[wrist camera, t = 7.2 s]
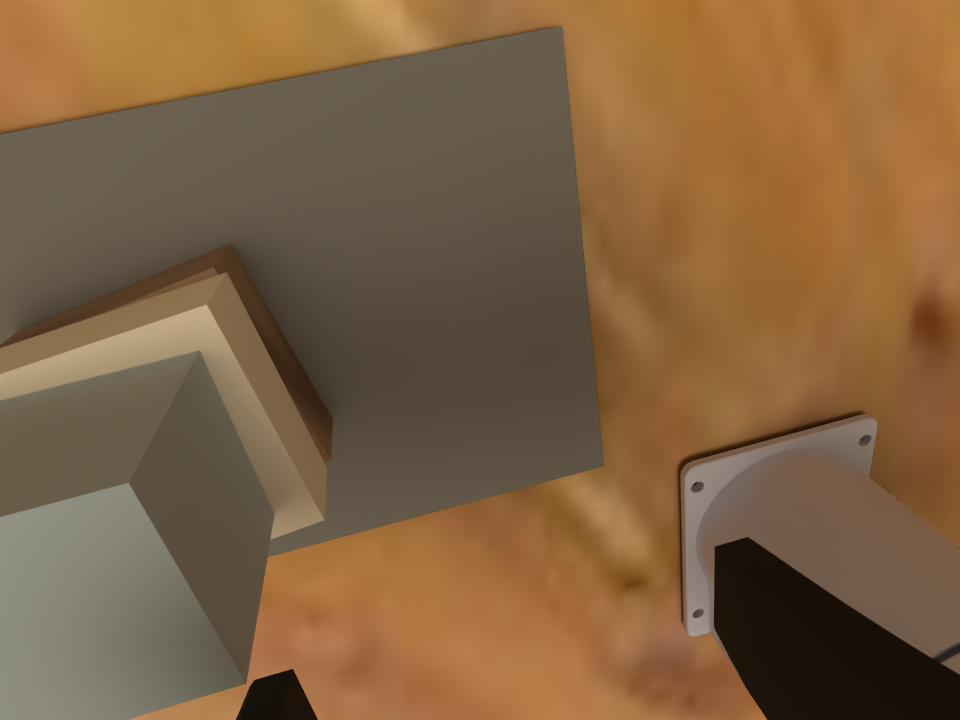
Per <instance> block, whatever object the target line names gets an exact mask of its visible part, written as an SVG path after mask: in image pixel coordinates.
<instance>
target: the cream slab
mask: <svg viewBox="0 0 960 720" xmlns="http://www.w3.org/2000/svg"><path fill="white" fill-rule="evenodd" d="M196 351H200V352H201V354H202V357H203V359H204V361H205V363H206V365H207V368H208V370H209V372H210V374H211V376H212V379H213V381H214V383H215V385H216V387H217V389H218V392H219V394H220V396H221V398H222V400H223V403H224V405H225V407H226V409H227V411H228V414H229V416H230V418H231V420H232V422H233V425H234V427H235V429H236V431H237V433H238V435H239V438H240V440H241V442H242V444H243V446H244V449H245V451H246V453H247V455H248V457H249V460H250V462H251V464H252V466H253V468H254V471H255V473H256V475H257V477H258V479H259V481H260V484H261V486H262V488H263V490H264V492H265V495H266V497H267V499H268V501H269V503H270V506H271V508H272V510H273V512H274V514H275V515H274V521H273V527H272V533H271V539H274V538H276V537H279V536H282V535H285V534H288V533H290V532H293V531H296V530H299V529H302V528H304V527H307V526H310V525H313V524H315V523H318V522H321V521H324V519H325V501H326V483H327V467H326V465H325V463H324V461H323V459H322V457H321V455H320V453H319V451H318V449H317V447H316V445H315V443H314V441H313V439H312V437H311V435H310V434H309V432H308V430H307V428H306V426H305V424H304V422H303V420H302V418H301V416H300V414H299V412H298V410H297V408H296V406H295V404H294V402H293V400H292V398H291V397H290V395H289V393H288V391H287V389H286V387H285V385H284V383H283V381H282V379H281V377H280V375H279V373H278V371H277V369H276V367H275V365H274V363H273V361H272V360H271V358H270V356H269V354H268V352H267V350H266V348H265V346H264V344H263V342H262V340H261V338H260V336H259V334H258V332H257V330H256V328H255V326H254V324H253V323H252V321H251V319H250V317H249V315H248V313H247V311H246V309H245V307H244V305H243V303H242V301H241V299H240V297H239V295H238V293H237V291H236V289H235V287H234V286H233V284H232V282H231V280H230V278H229V276H228V274H227V272H226V273H223V274H220V275H217V276H214V277H211V278H208V279H205V280H202V281H199V282H196V283H193V284H190V285H187V286H184V287H181V288H178V289H175V290H172V291H169V292H166V293H163V294H160V295H157V296H154V297H151V298H148V299H145V300H142V301H139V302H136V303H133V304H130V305H127V306H124V307H121V308H118V309H116V310H113V311H110V312H107V313H104V314H101V315H98V316H95V317H92V318H89V319H86V320H83V321H80V322H77V323H74V324H71V325H68V326H65V327H62V328H59V329H56V330H53V331H50V332H47V333H44V334H41V335H38V336H35V337H32V338H29V339H26V340H23V341H20V342H17V343H14V344H11V345H8V346H5V347H2V348H0V401H1V400H5V399H9V398H13V397H17V396H21V395H25V394H29V393H33V392H37V391H41V390H44V389H48V388H52V387H56V386H60V385H64V384H68V383H72V382H76V381H80V380H84V379H88V378H92V377H96V376H100V375H104V374H108V373H112V372H116V371H120V370H124V369H128V368H132V367H136V366H140V365H144V364H148V363H152V362H156V361H160V360H164V359H168V358H172V357H176V356H180V355H184V354H188V353H192V352H196ZM271 539H270V540H271Z"/></svg>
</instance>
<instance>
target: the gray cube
mask: <svg viewBox="0 0 960 720" xmlns="http://www.w3.org/2000/svg"><path fill="white" fill-rule="evenodd" d="M274 515H275V514H274V512H273V510H272V508H271V506H270V503H269V501H268V499H267V497H266V495H265V492H264V490H263V488H262V486H261V484H260V481H259V479H258V477H257V475H256V473H255V471H254V468H253V466H252V464H251V462H250V460H249V457H248V455H247V453H246V451H245V449H244V446H243V444H242V442H241V440H240V438H239V435H238V433H237V431H236V429H235V427H234V425H233V422H232V420H231V418H230V416H229V414H228V411H227V409H226V407H225V405H224V403H223V400H222V398H221V396H220V394H219V392H218V389H217V387H216V385H215V383H214V381H213V379H212V376H211V374H210V372H209V370H208V368H207V365H206V363H205V361H204V359H203V357H202V354H201V352H200V351H196V352H192V353H188V354H184V355H180V356H176V357H172V358H168V359H164V360H160V361H156V362H152V363H148V364H144V365H140V366H136V367H132V368H128V369H124V370H120V371H116V372H112V373H108V374H104V375H100V376H96V377H92V378H88V379H84V380H80V381H76V382H72V383H68V384H64V385H60V386H56V387H52V388H48V389H44V390H41V391H37V392H33V393H29V394H25V395H21V396H17V397H13V398H9V399H5V400H1V401H0V720H127V719H130V718H134V717H137V716H140V715H143V714H147V713H150V712H153V711H157V710H160V709H163V708H167V707H170V706H173V705H177V704H180V703H183V702H186V701H190V700H193V699H196V698H200V697H203V696H206V695H210V694H213V693H216V692H219V691H223V690H226V689H229V688H233V687H236V686H239V685H243V684H246V682H247V676H248V670H249V664H250V658H251V652H252V646H253V640H254V634H255V628H256V622H257V616H258V610H259V604H260V599H261V593H262V587H263V581H264V575H265V569H266V563H267V557H268V551H269V545H270V539H271V533H272V527H273V521H274Z"/></svg>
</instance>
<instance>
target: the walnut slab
mask: <svg viewBox="0 0 960 720" xmlns="http://www.w3.org/2000/svg"><path fill="white" fill-rule="evenodd" d="M226 272H227V274H228V276H229V278H230V280H231V282H232V284H233V286H234V287H235V289H236V291H237V293H238V295H239V297H240V299H241V301H242V303H243V305H244V307H245V309H246V311H247V313H248V315H249V317H250V319H251V321H252V323H253V324H254V326H255V328H256V330H257V332H258V334H259V336H260V338H261V340H262V342H263V344H264V346H265V348H266V350H267V352H268V354H269V356H270V358H271V360H272V361H273V363H274V365H275V367H276V369H277V371H278V373H279V375H280V377H281V379H282V381H283V383H284V385H285V387H286V389H287V391H288V393H289V395H290V397H291V398H292V400H293V402H294V404H295V406H296V408H297V410H298V412H299V414H300V416H301V418H302V420H303V422H304V424H305V426H306V428H307V430H308V432H309V434H310V435H311V437H312V439H313V441H314V443H315V445H316V447H317V449H318V451H319V453H320V455H321V457H322V459H323V461H324V463H325V462H327V461H330V460H331V451H332V429H333V419H332V417H331V415H330V413H329V412H328V410H327V408H326V407H325V405H324V403H323V402H322V400H321V398H320V396H319V395H318V393H317V391H316V390H315V388H314V386H313V384H312V383H311V381H310V379H309V378H308V376H307V374H306V372H305V371H304V369H303V367H302V366H301V364H300V362H299V360H298V359H297V357H296V355H295V354H294V352H293V350H292V348H291V347H290V345H289V343H288V342H287V340H286V338H285V336H284V335H283V333H282V331H281V330H280V328H279V326H278V324H277V323H276V321H275V319H274V318H273V316H272V314H271V312H270V311H269V309H268V307H267V306H266V304H265V302H264V300H263V299H262V297H261V295H260V294H259V292H258V290H257V288H256V287H255V285H254V283H253V282H252V280H251V278H250V276H249V275H248V273H247V271H246V270H245V268H244V266H243V264H242V263H241V261H240V259H239V258H238V256H237V254H236V252H235V251H234V249H233V247H232V246H231V244H228V245H225V246H223V247H221V248H218V249H216V250H213V251H211V252H208V253H206V254H204V255H201V256H199V257H196V258H194V259H192V260H189V261H187V262H184V263H182V264H179V265H177V266H175V267H172V268H170V269H167V270H165V271H163V272H160V273H158V274H155V275H153V276H150V277H148V278H146V279H143V280H141V281H138V282H136V283H134V284H131V285H129V286H126V287H124V288H122V289H119V290H117V291H114V292H112V293H109V294H107V295H105V296H102V297H100V298H97V299H95V300H93V301H90V302H88V303H85V304H83V305H80V306H78V307H76V308H73V309H71V310H68V311H66V312H64V313H61V314H59V315H56V316H54V317H51V318H49V319H47V320H44V321H42V322H39V323H37V324H35V325H32V326H30V327H27V328H25V329H23V330H20V331H18V332H16V333H15V334H14V335H12V336H11V337H10V338H9V339H7V340H6V341H5V342H3V343H2V344H1V345H0V348H2V347H5V346H8V345H11V344H14V343H17V342H20V341H23V340H26V339H29V338H32V337H35V336H38V335H41V334H44V333H47V332H50V331H53V330H56V329H59V328H62V327H65V326H68V325H71V324H74V323H77V322H80V321H83V320H86V319H89V318H92V317H95V316H98V315H101V314H104V313H107V312H110V311H113V310H116V309H118V308H121V307H124V306H127V305H130V304H133V303H136V302H139V301H142V300H145V299H148V298H151V297H154V296H157V295H160V294H163V293H166V292H169V291H172V290H175V289H178V288H181V287H184V286H187V285H190V284H193V283H196V282H199V281H202V280H205V279H208V278H211V277H214V276H217V275H220V274H223V273H226Z"/></svg>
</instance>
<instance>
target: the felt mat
mask: <svg viewBox="0 0 960 720" xmlns="http://www.w3.org/2000/svg"><path fill="white" fill-rule="evenodd" d="M228 244H231V246H232V247H233V249H234V251H235V252H236V254H237V256H238V258H239V259H240V261H241V263H242V264H243V266H244V268H245V270H246V271H247V273H248V275H249V276H250V278H251V280H252V282H253V283H254V285H255V287H256V288H257V290H258V292H259V294H260V295H261V297H262V299H263V300H264V302H265V304H266V306H267V307H268V309H269V311H270V312H271V314H272V316H273V318H274V319H275V321H276V323H277V324H278V326H279V328H280V330H281V331H282V333H283V335H284V336H285V338H286V340H287V342H288V343H289V345H290V347H291V348H292V350H293V352H294V354H295V355H296V357H297V359H298V360H299V362H300V364H301V366H302V367H303V369H304V371H305V372H306V374H307V376H308V378H309V379H310V381H311V383H312V384H313V386H314V388H315V390H316V391H317V393H318V395H319V396H320V398H321V400H322V402H323V403H324V405H325V407H326V408H327V410H328V412H329V413H330V415H331V417H332V419H333V429H332V451H331V460H330V461H327V462H325V465H326V467H327V483H326V501H325V519H324V521H321V522H318V523H315V524H313V525H310V526H307V527H304V528H302V529H299V530H296V531H293V532H290V533H288V534H285V535H282V536H279V537H276V538H274V539H271V540H270V545H269V551H268V557H269V556H273V555H277V554H281V553H284V552H288V551H292V550H295V549H299V548H303V547H306V546H310V545H314V544H317V543H321V542H325V541H329V540H332V539H336V538H340V537H343V536H347V535H351V534H354V533H358V532H362V531H365V530H369V529H373V528H377V527H380V526H384V525H388V524H391V523H395V522H399V521H402V520H406V519H410V518H413V517H417V516H421V515H425V514H428V513H432V512H436V511H439V510H443V509H447V508H450V507H454V506H458V505H461V504H465V503H469V502H473V501H476V500H480V499H484V498H487V497H491V496H495V495H498V494H502V493H506V492H509V491H513V490H517V489H521V488H524V487H528V486H532V485H535V484H539V483H543V482H546V481H550V480H554V479H557V478H561V477H565V476H569V475H572V474H576V473H580V472H583V471H587V470H591V469H594V468H598V467H602V466H604V463H603V452H602V442H601V431H600V420H599V410H598V399H597V389H596V378H595V368H594V357H593V347H592V336H591V326H590V315H589V305H588V294H587V284H586V273H585V263H584V252H583V242H582V231H581V221H580V210H579V199H578V189H577V178H576V168H575V157H574V147H573V136H572V126H571V115H570V105H569V94H568V84H567V73H566V63H565V52H564V42H563V31H562V26H559V27H554V28H548V29H543V30H538V31H533V32H528V33H523V34H517V35H512V36H507V37H502V38H497V39H491V40H486V41H481V42H476V43H471V44H466V45H460V46H455V47H450V48H445V49H440V50H435V51H429V52H424V53H419V54H414V55H409V56H404V57H398V58H393V59H388V60H383V61H378V62H372V63H367V64H362V65H357V66H352V67H347V68H341V69H336V70H331V71H326V72H321V73H316V74H310V75H305V76H300V77H295V78H290V79H285V80H279V81H274V82H269V83H264V84H259V85H253V86H248V87H243V88H238V89H233V90H228V91H222V92H217V93H212V94H207V95H202V96H197V97H191V98H186V99H181V100H176V101H171V102H166V103H160V104H155V105H150V106H145V107H140V108H135V109H129V110H124V111H119V112H114V113H109V114H103V115H98V116H93V117H88V118H83V119H78V120H72V121H67V122H62V123H57V124H52V125H47V126H41V127H36V128H31V129H26V130H21V131H16V132H10V133H5V134H0V345H1V344H2V343H3V342H5V341H6V340H7V339H9V338H10V337H11V336H12V335H14V334H15V333H16V332H18V331H20V330H23V329H25V328H27V327H30V326H32V325H35V324H37V323H39V322H42V321H44V320H47V319H49V318H51V317H54V316H56V315H59V314H61V313H64V312H66V311H68V310H71V309H73V308H76V307H78V306H80V305H83V304H85V303H88V302H90V301H93V300H95V299H97V298H100V297H102V296H105V295H107V294H109V293H112V292H114V291H117V290H119V289H122V288H124V287H126V286H129V285H131V284H134V283H136V282H138V281H141V280H143V279H146V278H148V277H150V276H153V275H155V274H158V273H160V272H163V271H165V270H167V269H170V268H172V267H175V266H177V265H179V264H182V263H184V262H187V261H189V260H192V259H194V258H196V257H199V256H201V255H204V254H206V253H208V252H211V251H213V250H216V249H218V248H221V247H223V246H225V245H228Z"/></svg>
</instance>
